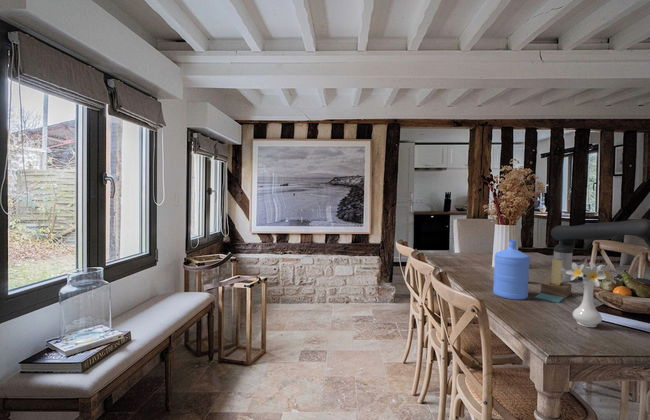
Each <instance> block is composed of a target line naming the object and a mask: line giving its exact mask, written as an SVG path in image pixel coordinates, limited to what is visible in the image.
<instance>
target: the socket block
mask: <svg viewBox="0 0 650 420" xmlns="http://www.w3.org/2000/svg"><path fill="white" fill-rule="evenodd" d="M540 293H544V294H549V295H554V296H560V297H564V299H567V298H568V297H570V296H571V294H572V283H567V282H562V286H558V285H552V284H551V280H545V281H544V282H541V283H540Z"/></svg>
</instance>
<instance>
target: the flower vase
mask: <svg viewBox="0 0 650 420" xmlns="http://www.w3.org/2000/svg"><path fill="white" fill-rule="evenodd" d="M588 265H589V266H586V262H585V261H584V262H583V263H581V264H580V265H579V266H578V264H577V263H575V262H572V270H568V271H566V270H565V269H564V268H563V267H562V266H561V265H560V266H561V269H562V270H561V273H562V275H564V276H563V282H562V283H565V282H564V281H565V279H566V277H567V276H568V274H569V275H571V281H574V280H575V279H577V278H578V276H579V277H582V276H583V277H582V278H583V281H582V283H583V293H582V294H583V295H582V301H581V302H580V304H579V306H578V307H576V308H575V309H574V310H573V311H572V317H573V319H575V321H576V323H577V324H578V325H580V326H583V327H584V328H585V327H586V328H596V327H597V325H599V324H600V323H602V321H603V317H602V315H601V313H600V312H599V311H598V310H597V309H596V307H595V304H594V287H600V286H601V285H600V283H599V280H598V279H605V278H606V279H607V280H611V281H612V282H613V283H615V284H616V281H615V280H614V279H613V278H612V277H616V276H617V274H618V273H616V272H614V271H611V266H610V264H609V263H608V264H606V265H605V264H600V265H598V266H597V265H596V264H595V262H593V261H589V264H588ZM583 274H585V275H586V276H584V275H583Z"/></svg>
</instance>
